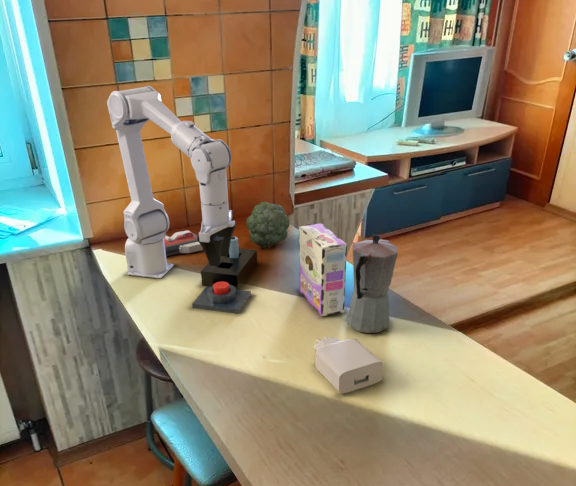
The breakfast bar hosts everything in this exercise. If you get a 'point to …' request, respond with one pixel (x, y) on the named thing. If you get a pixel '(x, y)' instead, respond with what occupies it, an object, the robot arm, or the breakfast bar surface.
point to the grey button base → (222, 300)
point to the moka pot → (371, 284)
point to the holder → (230, 269)
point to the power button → (221, 288)
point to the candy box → (322, 268)
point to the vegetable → (267, 224)
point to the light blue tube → (234, 248)
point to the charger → (347, 364)
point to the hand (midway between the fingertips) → (219, 260)
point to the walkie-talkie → (181, 243)
